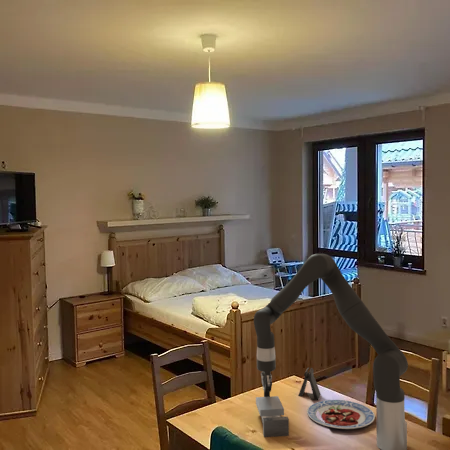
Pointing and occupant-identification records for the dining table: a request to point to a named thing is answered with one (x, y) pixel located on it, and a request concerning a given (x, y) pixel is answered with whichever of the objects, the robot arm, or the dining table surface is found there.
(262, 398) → the slab
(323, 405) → the ceramic plate
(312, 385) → the grey a-frame stand
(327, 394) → the dining table surface
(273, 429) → the bar
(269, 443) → the dining table surface
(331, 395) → the dining table surface
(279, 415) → the roller middle
